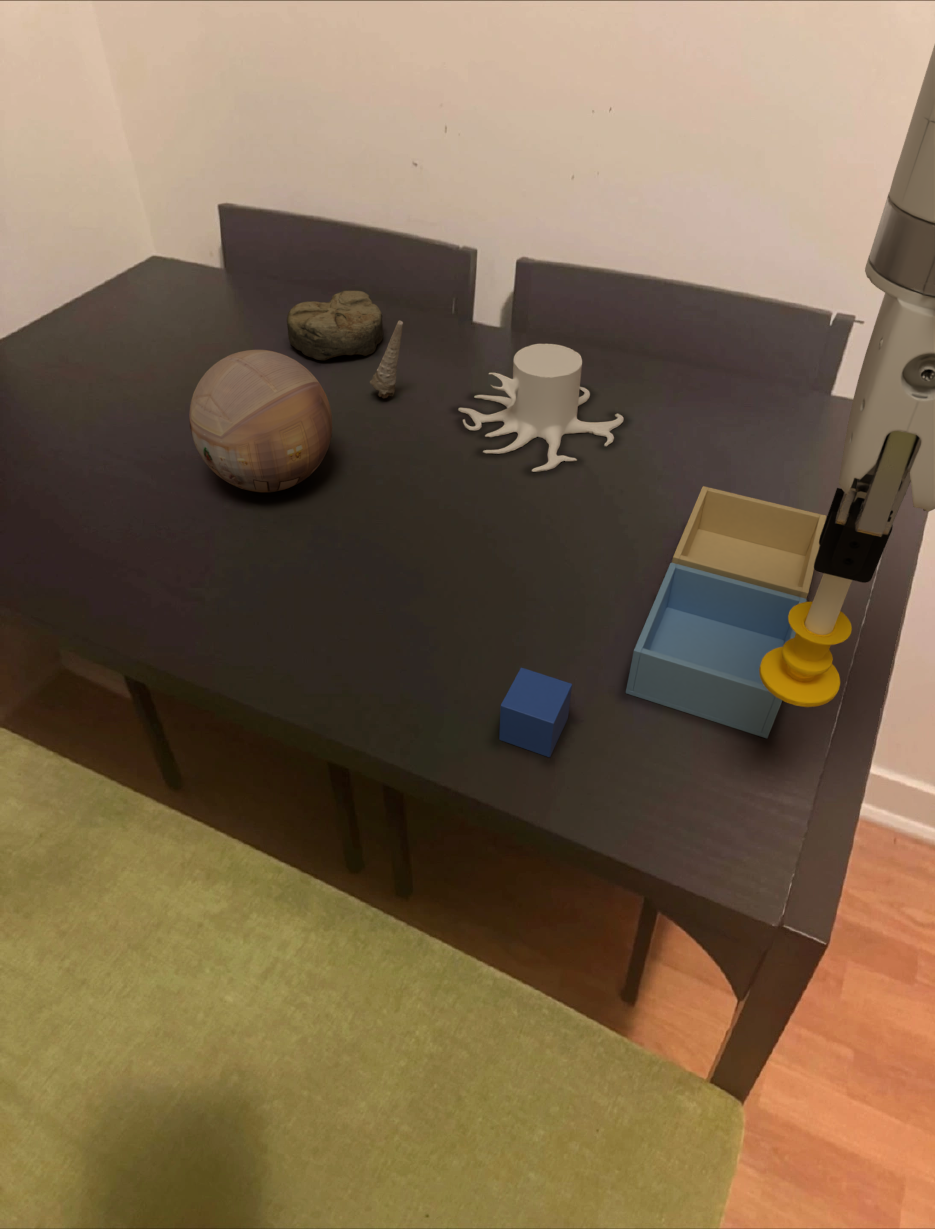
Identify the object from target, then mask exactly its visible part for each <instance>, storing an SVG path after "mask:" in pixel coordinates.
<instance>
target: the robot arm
mask: <svg viewBox="0 0 935 1229" xmlns="http://www.w3.org/2000/svg"><path fill="white" fill-rule="evenodd" d="M897 161H898V162H897V164H896V168H895V170H894V174H893V177H892V180H891V185H890V188H889V192H888V193H887V197H886V200H885V203H884V207H883V210H882V213H881V216H880V219H879V223H878V226H877V229H876V232H875V235H874V238H873V242H872V246H871V249H870V251H869V255H868V257H867V260H866V263H865V267H864V272H865V275H866V278H867V279H868V280H869V282H870V283H871V284H872V285H873V286H875V288H877V289H878V290H880V291H882V292H883V293H884V295H883V297H882V300H881V303H880V304H881V305H880V307H879V310H878V314H877V316H876V320H875V322H874V326H873V329H872V333H871V335H870V338H869V342H868V345H867V347H866V351H865V354H864V356H863V361H862V364H861V368H860V372H859V375H858V379H857V383H856V386H855V391H854V394H853V399H852V403H851V406H850V410H849V411H850V412H849V417H848V421H847V427H846V432H845V438H844V444H843V451H842V459H841V463H840V464H841V465H840V469H839V477H838V485H839V487H836V489H835V492H834V495H833V498H832V501H831V504H830V506H829V509H828V512H827V515H826V520H825V524H824V526H823V529H822V532H821V535H820V539H819V545H820V546H819V550H818V553H817V556H816V559H815V562H814V571H815V572H817V573H821V574H824V573H825V574H829V575H833V576H837V577H841V578H845V579H850V580H852V581H855V582H858V583H863V584H866V583H869V582H871V580H872V579H873V577H874V574H875V573H876V569H877V567H878V565H879V563H880V561H881V557H882V556H883V553H884V551H885V549H886V546H887V543H888V541H889V539H890V537H891V534H892V532H893V528H894V526H893V525H894V522H895V520H896V517H897V515H898V512H899V510H900V508H901V505H902V503H903V501H904V498H905V496H906V495H907V491H908V489H909V487H910V489H911V498H912V499H911V500H912V508H916V509H922V510H923V512H932V511H933V510H935V44H933V48H932V51H931V55H930V57H929V61H928V64H927V67H926V71H925V74H924V76H923V81H922V84H921V87H920V90H919V93H918V97H917V100H916V102H915V107H914V108H913V113H912V116H911V119H910V122H909V126H908V129H907V132H906V135H905V138H904V141H903V146H902V149H901V152H900V156H899V158H898V160H897ZM860 491H861V492H865V493H867V494H866V497H865V499H864V498H859V497H857V499H856V500H855V497H856V495H857V492H860ZM854 500H855V501H854Z"/></svg>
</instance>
